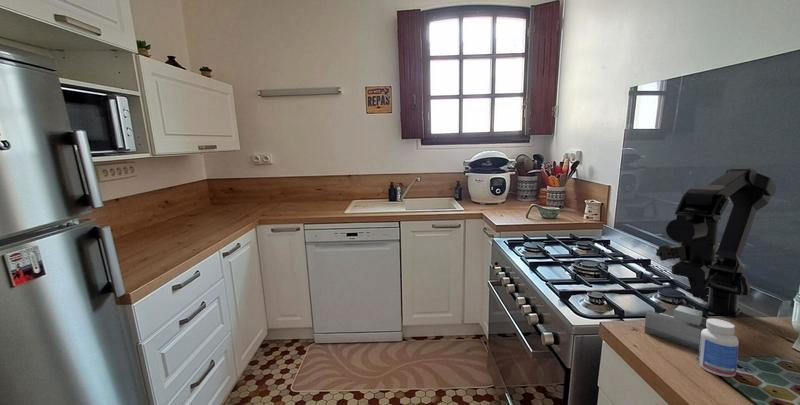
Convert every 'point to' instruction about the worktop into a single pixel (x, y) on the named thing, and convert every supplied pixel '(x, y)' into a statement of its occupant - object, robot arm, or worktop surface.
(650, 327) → the gauge base
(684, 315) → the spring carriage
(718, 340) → the pill bottle
